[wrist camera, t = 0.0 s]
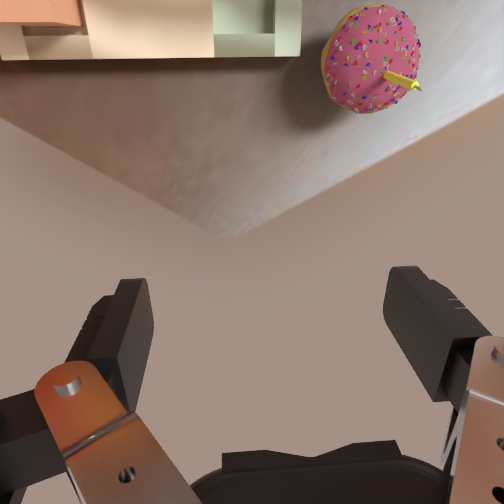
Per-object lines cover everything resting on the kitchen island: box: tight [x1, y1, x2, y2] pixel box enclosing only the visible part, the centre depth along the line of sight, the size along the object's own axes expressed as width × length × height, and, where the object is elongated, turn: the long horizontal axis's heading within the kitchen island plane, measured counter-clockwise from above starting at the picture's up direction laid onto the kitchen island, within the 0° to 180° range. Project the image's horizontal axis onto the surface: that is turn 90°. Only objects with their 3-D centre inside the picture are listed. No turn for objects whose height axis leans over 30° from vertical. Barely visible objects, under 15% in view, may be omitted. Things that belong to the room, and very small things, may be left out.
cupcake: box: [321, 5, 423, 113], centre depth 32 cm, size 9×8×12 cm
